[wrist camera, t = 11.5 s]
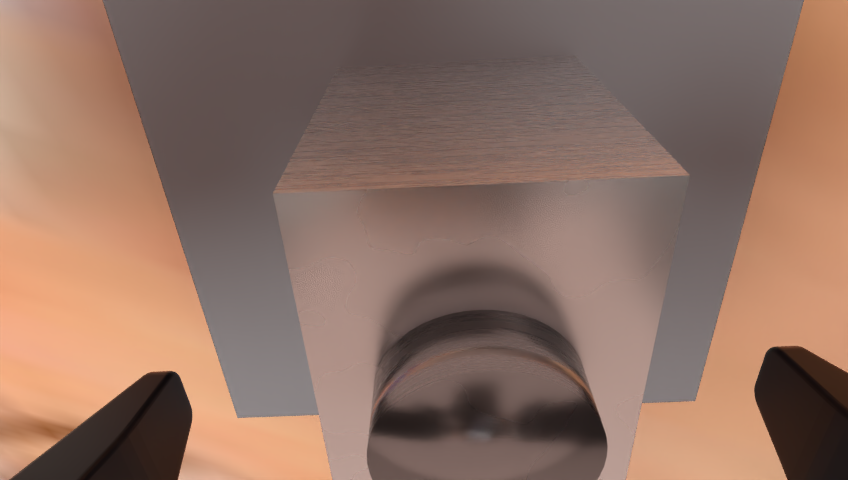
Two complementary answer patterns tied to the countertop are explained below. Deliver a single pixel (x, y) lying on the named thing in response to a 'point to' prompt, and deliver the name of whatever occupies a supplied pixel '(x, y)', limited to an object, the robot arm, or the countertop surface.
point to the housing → (478, 269)
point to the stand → (431, 43)
